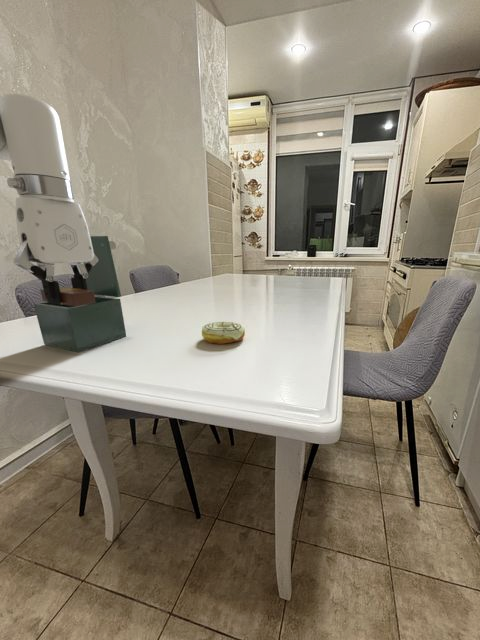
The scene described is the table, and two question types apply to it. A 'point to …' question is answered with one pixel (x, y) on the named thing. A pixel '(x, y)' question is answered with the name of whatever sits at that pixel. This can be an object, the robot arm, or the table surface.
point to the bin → (81, 323)
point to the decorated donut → (223, 332)
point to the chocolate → (74, 296)
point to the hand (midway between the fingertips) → (68, 299)
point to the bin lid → (103, 269)
